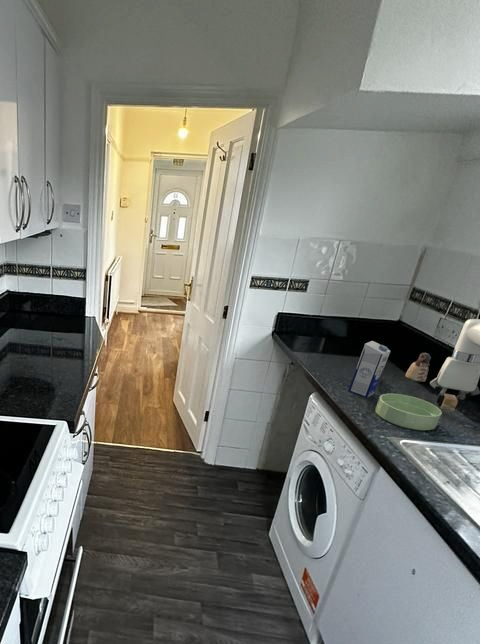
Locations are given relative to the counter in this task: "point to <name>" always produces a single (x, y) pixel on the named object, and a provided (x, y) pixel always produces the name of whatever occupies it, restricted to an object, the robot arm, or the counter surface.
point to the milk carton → (369, 369)
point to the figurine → (419, 368)
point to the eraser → (449, 402)
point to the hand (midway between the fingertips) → (446, 406)
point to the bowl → (408, 411)
